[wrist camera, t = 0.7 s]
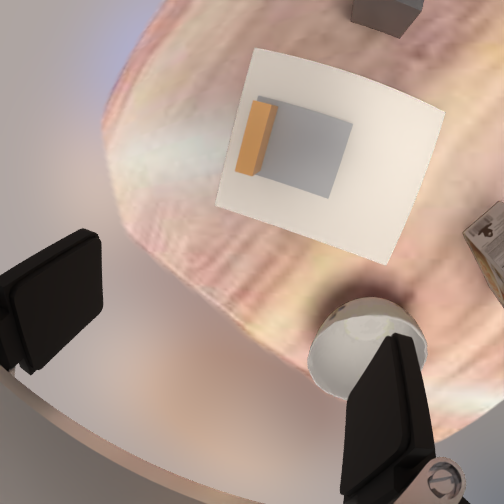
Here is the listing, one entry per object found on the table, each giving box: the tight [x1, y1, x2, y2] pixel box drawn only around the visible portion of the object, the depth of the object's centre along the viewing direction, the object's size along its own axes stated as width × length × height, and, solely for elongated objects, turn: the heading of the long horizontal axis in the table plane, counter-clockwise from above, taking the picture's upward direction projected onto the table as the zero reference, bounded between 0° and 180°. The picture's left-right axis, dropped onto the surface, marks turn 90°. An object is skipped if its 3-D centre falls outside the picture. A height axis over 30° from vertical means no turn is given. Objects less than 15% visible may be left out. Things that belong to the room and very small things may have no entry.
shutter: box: [235, 96, 353, 199], centre depth 25 cm, size 7×8×4 cm
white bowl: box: [308, 297, 428, 400], centre depth 32 cm, size 15×12×8 cm
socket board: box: [215, 48, 446, 266], centre depth 28 cm, size 16×18×3 cm
